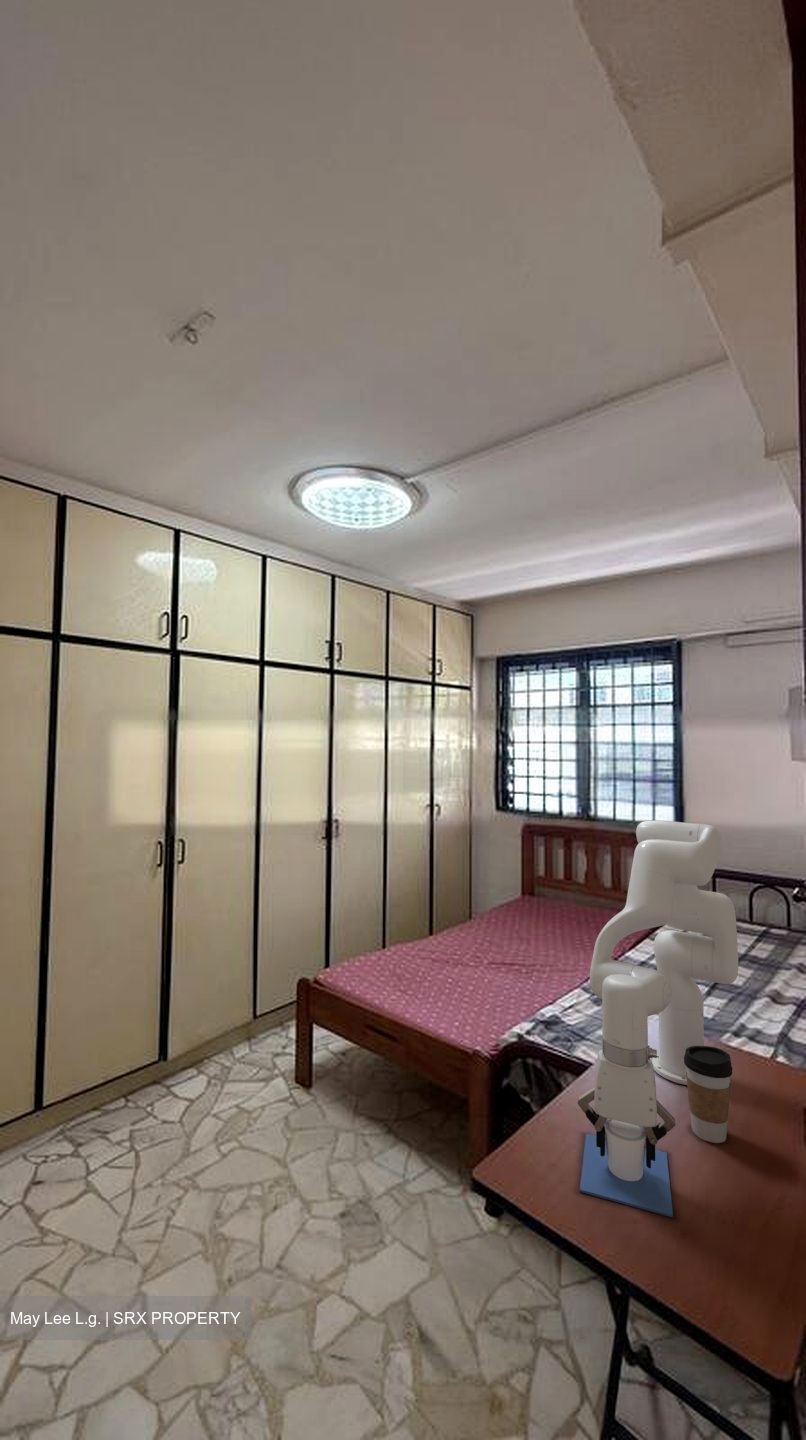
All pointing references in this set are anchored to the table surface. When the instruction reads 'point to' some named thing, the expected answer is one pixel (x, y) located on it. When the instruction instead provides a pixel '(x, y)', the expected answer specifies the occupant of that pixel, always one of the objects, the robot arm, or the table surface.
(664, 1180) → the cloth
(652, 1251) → the table surface
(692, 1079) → the coffee cup
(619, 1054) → the robot arm
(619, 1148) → the white cup
